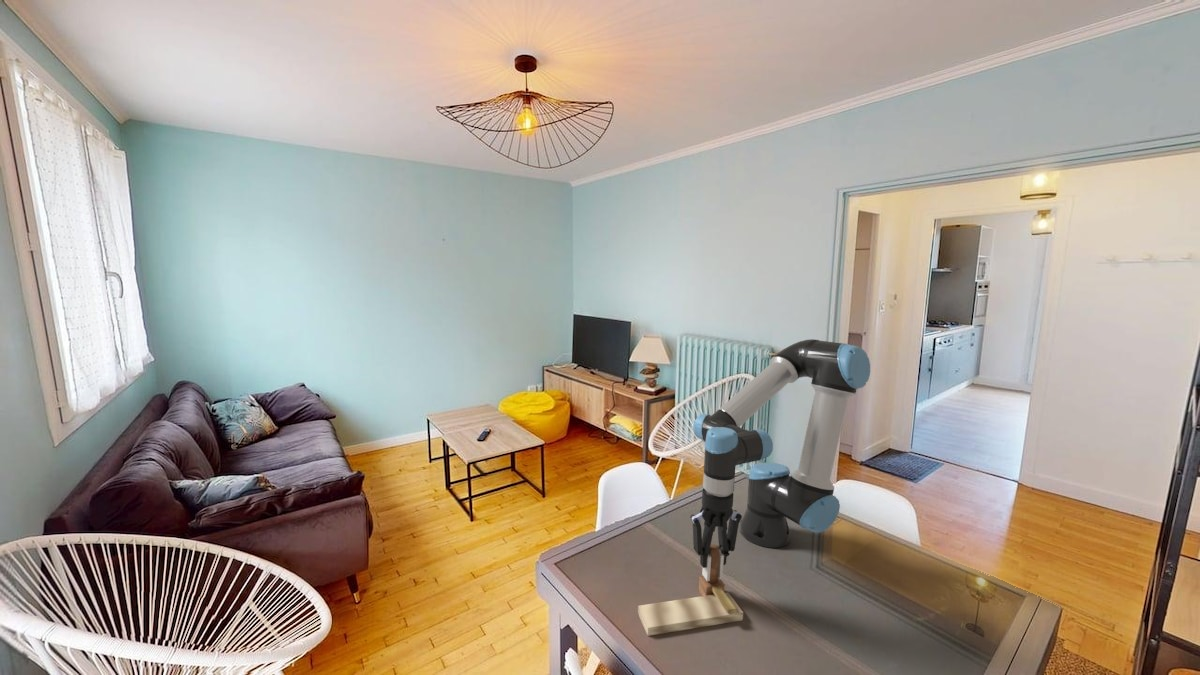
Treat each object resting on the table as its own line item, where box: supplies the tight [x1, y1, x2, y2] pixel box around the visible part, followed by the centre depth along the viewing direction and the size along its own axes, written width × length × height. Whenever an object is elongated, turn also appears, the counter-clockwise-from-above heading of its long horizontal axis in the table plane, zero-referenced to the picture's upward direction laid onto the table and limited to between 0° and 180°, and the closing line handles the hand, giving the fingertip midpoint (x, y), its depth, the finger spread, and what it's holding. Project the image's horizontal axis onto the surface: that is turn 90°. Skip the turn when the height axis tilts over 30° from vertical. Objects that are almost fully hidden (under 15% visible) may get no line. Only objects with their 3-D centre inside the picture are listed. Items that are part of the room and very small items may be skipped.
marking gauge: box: [698, 543, 736, 614], centre depth 109 cm, size 5×12×13 cm, turn 13°
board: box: [637, 592, 744, 637], centre depth 106 cm, size 24×7×2 cm, turn 103°
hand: (712, 576), depth 113 cm, fingers closed on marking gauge, 3 cm apart
